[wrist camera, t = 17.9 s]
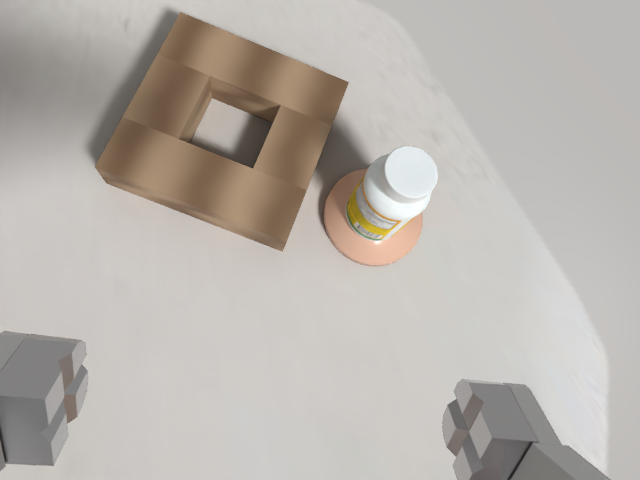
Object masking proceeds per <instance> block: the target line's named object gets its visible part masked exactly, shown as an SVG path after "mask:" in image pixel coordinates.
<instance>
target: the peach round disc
mask: <svg viewBox="0 0 640 480" xmlns="http://www.w3.org/2000/svg"><path fill="white" fill-rule="evenodd" d="M367 169H368V168H366V169H359V170H356V171H353V172H351V173H348V174H347V175H345V176H344V177H342V178H341V179H340V180H339V181H338V182H337V183H336V184H335V185H334V187H333V188H332V190H331V191H330V193H329V195H328V197H327V200H326V203H325V206H324V225H325V229H326V232H327V234H328V237H329V239H330V240H331V242H332V243H333V245H334V246H335V248H336V249H337V250H338V251H339V252H340V253H342V254H343V255H344V256H345V257H347V258H348V259H350V260H352V261H354V262H356V263H359V264H362V265H367V266H383V265H387V264H390V263H393V262H395V261H397V260H399V259H400V258H402V257H403V256H405V255H406V254H407V253H408V252H409V251H410V250H411V249H412V248H413V247H414V246H415V244H416V242H417V241H418V239H419V236H420V234H421V229H422V212H421V213H420V214H419V215H418V216H416V217H415V218H414V219H413V220H412V221H410V222H409V223H408V224H407V225H406V226H404V227H403V228H402V229H401V230H400V231H399V232H397V233H396V234H395V235H394V236H392V237H391V238H389V239H387V240H384V241H369V240H366V239H364V238H362V237H360V236H359V235H357V234H356V233H355V232H354V231H353V230H352V228H351V227H350V225H349V223H348V221H347V218H346V204H347V201H348V199H349V197H350V196H351V194H352V192H353V191H354V189H355V188H356V186H357V185H358V183H359V181H360V180H361V178H362V177H363V175H364V174H365V172H366V171H367Z"/></svg>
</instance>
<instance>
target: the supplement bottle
mask: <svg viewBox="0 0 640 480" xmlns="http://www.w3.org/2000/svg"><path fill="white" fill-rule="evenodd" d="M437 178H438V173H437V167H436V165H435V163H434V161H433V159H432V158H431V157H430V156H429V154H427V153H426V152H425V151H423V150H422V149H420V148H417V147H414V146H402V147H399V148H396V149H395V150H393V151H392V152H391V153H390V154H387V155H384V156H382V157H380V158H378V159H377V160H375V161H374V162H373V163H372V164H371V165H370V167H369V168H368V169H367V171H366V172H365V174H364V175H363V177H362V178H361V180H360V181H359V183H358V185H357V186H356V188H355V189H354V191H353V192H352V194H351V196H350V197H349V199H348V201H347V204H346V218H347V221H348V223H349V225H350V227H351V228H352V230H353V231H354V232H355V233H356V234H357V235H359V236H360V237H362V238H364V239H366V240H369V241H384V240H387V239H389V238H391V237H392V236H394V235H395V234H396V233H397V232H399V231H400V230H401V229H402V228H403V227H404V226H406V225H407V224H408V223H409V222H410V221H412V220H413V219H414V218H415V217H416V216H418V215H419V214H420V213H421V212H422V211H423V210H424V209H425V208H426V206H427V205H428V203H429V200H430V197H431V192H432V190H433V189H434V187H435V185H436V183H437Z"/></svg>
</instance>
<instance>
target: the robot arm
mask: <svg viewBox="0 0 640 480" xmlns="http://www.w3.org/2000/svg"><path fill="white" fill-rule="evenodd" d="M86 355H87V354H86V345H85V342H84V341H82V340H76V339H68V338H60V337H52V336H44V335H37V334H24V333H16V332H9V331H4V332H2V333H0V471H1V470H2V469H3V468H4V467H6V464H25V465H49V466H54V464H55V462H56V460H57V458H58V456H59V454H60V452H61V450H62V448H63V446H64V444H65V442H66V440H67V437H68V427H67V424H68V423H69V422H71V421H72V420H74V419H75V418H77V417H78V414H79V412H80V410H81V408H82V406H83V403H84V399H85V396H86V392H87V385H88V371H87V369H86V368H85V367H84V366H83V365H82V362H83V361H84V359H85V357H86ZM454 393H455V396H456V398H457V399H456V400H454V401H453V402H451V403H450V404H448V405H447V408H446V410H445V413H444V415H443V426H442V428H443V436H444V440H445V443H446V447H447V448H448V449H449V450H450V451H451V452H452V453H453V454H454V455H455V456H456V459H455V461H454V463H453V468H454V471H455V474H456V477H457V480H610V479H609V478H608V477H607V476H606V475H604V474H603V473H602V472H601V471H599V470H598V469H597V468H596V467H594V466H593V465H592V464H591V463H589V462H588V461H587V460H586V459H584V458H583V457H582V456H581V455H579V454H578V453H577V452H576V451H574V450H573V449H572V448H571V447H569V446H566V445H562V444H561V442H560V441H559V439H558V437H557V435H556V434H555V432H554V430H553V428H552V427H551V425H550V423H549V421H548V420H547V418H546V416H545V414H544V413H543V411H542V409H541V407H540V406H539V404H538V402H537V400H536V399H535V397H534V395H533V393H532V392H531V390H530V389H529V388H528V387H527V386H526V385H522V384H511V383H498V382H488V381H477V380H466V379H462V380H461V381H459V382H458V383H457V385H456V387H455V390H454Z"/></svg>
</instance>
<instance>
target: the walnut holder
mask: <svg viewBox="0 0 640 480" xmlns="http://www.w3.org/2000/svg"><path fill="white" fill-rule="evenodd" d="M348 83H349V82H347V81H344V80H342V79H340V78H337V77H335V76H332V75H330V74H328V73H325V72H323V71H321V70H318V69H316V68H313V67H311V66H309V65H306V64H304V63H301V62H299V61H297V60H294V59H292V58H289V57H287V56H285V55H282V54H280V53H277V52H275V51H273V50H270V49H268V48H265V47H263V46H261V45H258V44H256V43H253V42H251V41H249V40H246V39H244V38H241V37H239V36H237V35H234V34H232V33H229V32H227V31H225V30H222V29H220V28H217V27H215V26H213V25H210V24H208V23H205V22H203V21H201V20H198V19H196V18H193V17H191V16H189V15H186V14H184V13H181V12H180V14H179V16H178V18H177V19H176V21H175V23H174V25H173V27H172V28H171V30H170V32H169V34H168V36H167V37H166V39H165V41H164V43H163V45H162V46H161V48H160V50H159V52H158V54H157V55H156V57H155V59H154V61H153V63H152V64H151V66H150V68H149V70H148V72H147V73H146V75H145V77H144V79H143V81H142V82H141V84H140V86H139V88H138V90H137V91H136V93H135V95H134V97H133V99H132V100H131V102H130V104H129V106H128V108H127V109H126V111H125V113H124V115H123V117H122V118H121V120H120V122H119V124H118V126H117V127H116V129H115V131H114V133H113V135H112V136H111V138H110V140H109V142H108V144H107V145H106V147H105V149H104V151H103V153H102V154H101V156H100V158H99V160H98V162H97V163H96V165H95V168H96V169H97V170H98V172H99V173H100V175H101V176H102V178H103V179H104V180H105V182H106V183H107V184H110V185H112V186H115V187H118V188H120V189H123V190H125V191H128V192H130V193H133V194H136V195H138V196H141V197H143V198H146V199H148V200H151V201H154V202H156V203H159V204H161V205H164V206H167V207H169V208H172V209H174V210H177V211H179V212H182V213H185V214H187V215H190V216H192V217H195V218H197V219H200V220H203V221H205V222H208V223H210V224H213V225H215V226H218V227H221V228H223V229H226V230H228V231H231V232H234V233H236V234H239V235H241V236H244V237H246V238H249V239H252V240H254V241H257V242H259V243H262V244H264V245H267V246H270V247H272V248H275V249H277V250H280V251H283V249H284V247H285V244H286V242H287V239H288V236H289V234H290V231H291V229H292V226H293V224H294V221H295V219H296V216H297V213H298V211H299V208H300V206H301V203H302V201H303V198H304V196H305V193H306V190H307V188H308V185H309V183H310V180H311V178H312V175H313V173H314V170H315V167H316V165H317V162H318V160H319V157H320V155H321V152H322V150H323V147H324V144H325V142H326V139H327V137H328V134H329V132H330V129H331V126H332V124H333V121H334V119H335V116H336V114H337V111H338V109H339V106H340V103H341V101H342V98H343V96H344V93H345V91H346V88H347V86H348ZM212 98H213V99H216V100H218V101H221V102H223V103H226V104H228V105H231V106H233V107H236V108H238V109H241V110H243V111H245V112H248V113H250V114H253V115H255V116H258V117H260V118H263V119H265V120H268V121H270V122H273V124H272V126H271V129H270V131H269V133H268V136H267V138H266V140H265V142H264V145H263V147H262V149H261V152H260V154H259V156H258V158H257V161H256V163H255V165H254V168H250V167H248V166H245V165H242V164H240V163H237V162H235V161H232V160H230V159H227V158H225V157H222V156H220V155H217V154H215V153H212V152H210V151H207V150H205V149H202V148H200V147H197V146H195V145H192V144H190V141H191V139H192V137H193V135H194V133H195V131H196V129H197V127H198V125H199V123H200V121H201V119H202V117H203V115H204V113H205V111H206V109H207V107H208V105H209V103H210V101H211V99H212Z"/></svg>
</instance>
